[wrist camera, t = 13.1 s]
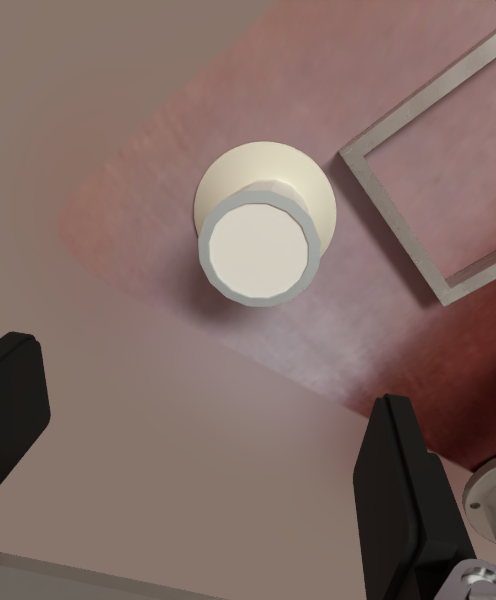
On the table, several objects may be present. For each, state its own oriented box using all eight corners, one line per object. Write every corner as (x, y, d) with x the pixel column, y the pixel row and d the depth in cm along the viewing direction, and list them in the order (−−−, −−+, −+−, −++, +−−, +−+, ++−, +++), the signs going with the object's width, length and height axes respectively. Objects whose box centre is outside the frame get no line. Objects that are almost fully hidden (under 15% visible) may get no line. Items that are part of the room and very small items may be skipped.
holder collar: (635, 187, 25) (653, 192, 24) (437, 297, 30) (443, 306, 29) (545, -10, 22) (561, -16, 21) (337, 150, 27) (339, 153, 25)
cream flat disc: (364, 230, 29) (365, 231, 28) (253, 304, 32) (252, 306, 32) (277, 106, 26) (277, 106, 26) (167, 203, 30) (165, 204, 29)
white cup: (281, 282, 31) (274, 329, 25) (203, 231, 30) (175, 267, 24) (338, 206, 28) (347, 238, 22) (254, 147, 27) (238, 162, 21)
